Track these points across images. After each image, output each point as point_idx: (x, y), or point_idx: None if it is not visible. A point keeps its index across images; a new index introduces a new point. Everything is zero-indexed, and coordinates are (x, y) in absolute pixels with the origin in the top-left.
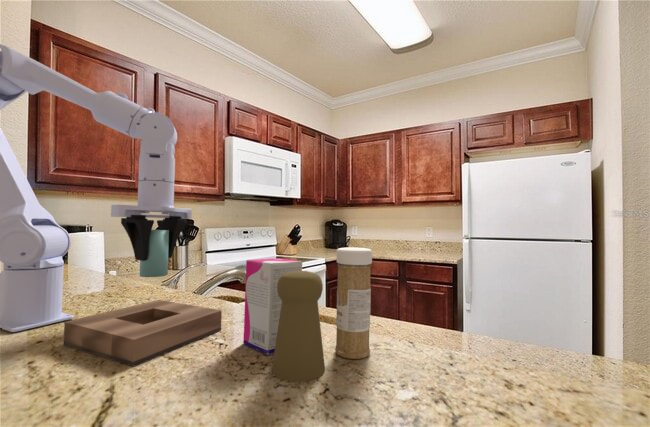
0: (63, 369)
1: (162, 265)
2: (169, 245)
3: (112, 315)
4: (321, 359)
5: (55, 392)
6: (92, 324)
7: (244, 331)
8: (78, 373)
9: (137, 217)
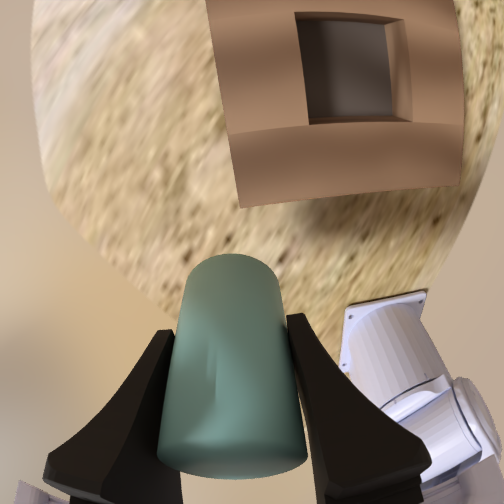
0: (472, 70)
1: (222, 281)
2: (160, 377)
3: (402, 149)
4: None
5: (490, 22)
6: (451, 120)
7: None
8: (468, 39)
9: (391, 499)
